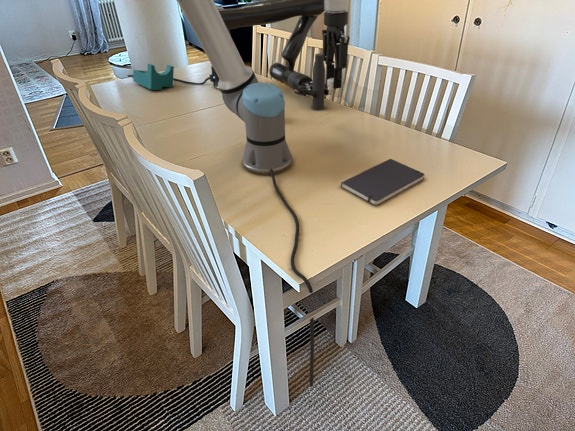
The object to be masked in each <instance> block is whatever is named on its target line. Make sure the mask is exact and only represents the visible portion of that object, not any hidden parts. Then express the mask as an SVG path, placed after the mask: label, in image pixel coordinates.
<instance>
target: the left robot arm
mask: <svg viewBox="0 0 575 431" xmlns="http://www.w3.org/2000/svg"><path fill="white" fill-rule="evenodd" d="M216 7H217V9H218V11H219V13H220V15H221V17H222V19H223V21H224V23H225V25H226V27H227V30H228V32H229V34H230V35H231V30H234V29H238V28H243V27H256V26H264V25H270V24H276V23H279V22H283V21H286V20H289V19H292V18H296V17H299V18H298V20H297V22H296V24H295V27H294V29H293V30H292V32H291V34H290V36H289V38H288V40H287V42H286V44H285V46H284V47H283V50H282V51H281V56H280V57H281V58H282V59H283V60H284V62H285V63H284V64H285V65H284V64H282V63H281V62H277V61H276V62H274V63H272V64H271V65H270V67H269V69H268V72H269V75H270V78H272V79H274V80H276V81H278V82H279V83H281V84H284V85H285V86H286V87H289V88H290V89H292V91H294V95H298V96H301V97H307V96H308V97H311V98H312V97H314V98H317V92H315V91H313V90H312V89H313V78H311V76H309V75H306V74H305V73H303V72H300V71H296V70H295V66H296V62H297V60H298V57H299V55H300V53H301V52H302V49H303V47H304V45H305V42H306V40H307V37H308V34H309V32H310V30H311V28H312V26H313V25H314V23H315V21H317V19H318V18H319V16H321V15H323V14H324V13H325V12H326V11H325V10H324V0H257V1H253V2H251V3H248V4H246V5H245V4H244V5H242V6H240V7H235V8H233V7H232V8H223V7H222V6H219V5H216ZM210 68H211V74H209V76H208V77H206V78H205V79H204V81H201V82H193V81H187V80H183V79H179V78H176V77H173V81H176V82H180V83H184V84H187V85H188V84H189V85H195V86H203V85H205V84H206V83H207V81H210V82H211V83H213V88H215V90H216V89H217V90H220V89H219V87H218V82H219V77H218V75H217V73H216V71H215V70H214V68H213V66H212V65H211V66H210ZM127 77H129V78H133V74H127ZM329 95H330V89H328V86H327V85H326V83H325V95H324V96H329Z"/></svg>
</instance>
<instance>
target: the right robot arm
mask: <svg viewBox="0 0 575 431" xmlns="http://www.w3.org/2000/svg"><path fill="white" fill-rule="evenodd" d="M349 1H350V0H324V10H325V11H324V12H323V25H325V26H326V29H322V30H321V35H322V54H323V61H324V65H325V84H326V85H327V80H328V79H329V78H334V82H333V88H332V89H333V90H337V89H341V88H342V84H343V83H342V82H343V81H342V80H343V69H346V68H348V55H349V54H348V53H349V42H350V40H351V39H350V38H351V37H350V36H349V35H346V33H345V32H346V31H345V26H347V25H348V24H349V12H348V10H349V3H350V2H349ZM176 2H177V4H178V6H179V8H180V9H181V11H182V13H183V15H184V16H185V19H186V21H187V22H188V24H189V26H190V28H191V29H192V31H193V33H194V35H195V37H196V39H197V40H198V42H199V44H200V46H201V48H202V49H203V51H204V54H205V55H206V57H207V59H208V61H209V62H210V64H211V66H213V68H214V70H215V71H216V73H217V75H218V77H219V82H218V87H219V89H218V90H219V91H220V93H221V97H222V101H223V103H224V105H225V106H226V108H227V109H228V110H229V111H230V112H232V113H234V114H235V115H236V116H237V117H238V118H239V119H240V120H242V121H243V122H244V125H245V136H246V137H245V138H246V143H245V146H244V151H243V155H242V166H243V168H244V170H246V171H247V172H249V173H252V174H254V175H255V174H256V175H262V176H269V175H270V176H271V180H272V183H273V187H274V190H275V191H276V194H277V195H278V197H279V198H280V200H281V201H282V203H283V204H284V206H285V207H286V209H287V210H288V211H289V213H290V214H291V215H292V217H293V220H294V223H295V234H294V243H293V247H292V252H291V255H290V267H291V270H292V272H293V273H294V274H295V275H296V276H297V277H299V278H300V279H301V281H303V282H304V284H305V285H306V287H307V291H308V292H309V293H310V294H313V293H314V290H313V287H312V284H311V282H310V281H309V279H308V278H307V277H306V276H305V275H304V274H303V273H302V272H301V271H299V270H298V269H297V268H296V264H295V257H296V253H297V250H298V247H299V246H298V245H299V235H300V223H299V222H300V221H299V218H298V216H297V214H296V212H295V211H294V210H293V209H292V207H291V206H290V205H289V203H288V202H287V200H286V199H285V197H284V196H283V194H282V193H281V191H280V189H279V187H278V185H277V180H276V176H275V175H277V174H280V173H283V172H286V171H287V170H289V169H290V167H291V166H292V163H293V157H292V153H291V150H290V148H289V145H288V143H287V140H286V111H285V110H286V108H285V107H286V101H285V95H284V92H283V90H282V88H280V87H279V86H278V85H276V84H273V83H268V82H262V81H261V82H259V80H258V77H257V76H256V74H255V71H254V70H253V68H252V66H249V65H245V63H244V61H243V59H242V56H241V55H240V52H239V50H238V48H237V46H236V44H235V42H234V40H233V38H232V36H231V33H230V34H229V32H228V30H227V27H226V25H225V23H224V21H223V19H222V17H221V15H220V13H219V11H218V9H217V7H216V6H217V5H216V3H215V1H214V0H176ZM309 329H310V330H309V334H310V336H309V338H310V339H309V340H310V341H309V342H310V344H309V345H310V349H309V352H310V353H309V355H310V356H309V387H311V388H312V387H314V365H315V362H314V361H315V318H314V316H313V317H312V318H310V319H309Z"/></svg>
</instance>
